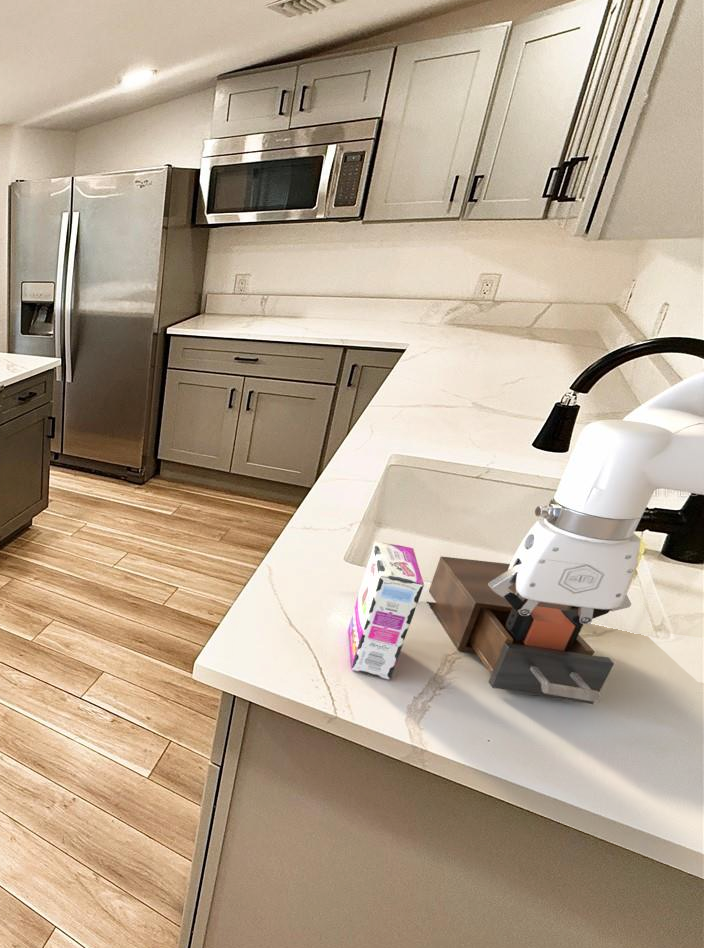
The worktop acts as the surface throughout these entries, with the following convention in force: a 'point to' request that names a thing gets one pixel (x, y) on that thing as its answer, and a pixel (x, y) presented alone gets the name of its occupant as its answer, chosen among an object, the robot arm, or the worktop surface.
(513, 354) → the worktop surface
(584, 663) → the drawer
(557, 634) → the block
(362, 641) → the candy bar box
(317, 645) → the worktop surface
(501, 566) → the cabinet
